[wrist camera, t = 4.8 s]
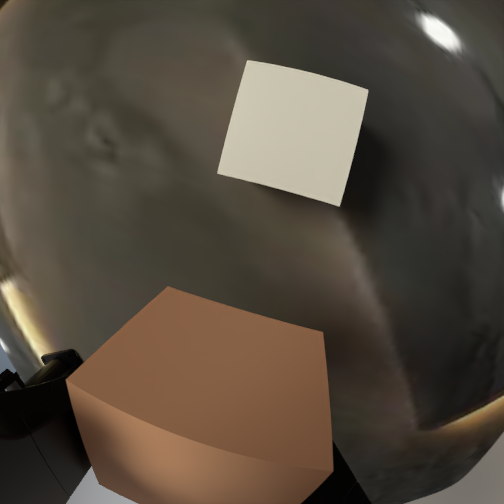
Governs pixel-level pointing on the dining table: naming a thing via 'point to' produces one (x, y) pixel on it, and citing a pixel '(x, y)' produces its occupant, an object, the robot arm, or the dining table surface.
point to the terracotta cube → (206, 406)
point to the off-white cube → (293, 131)
